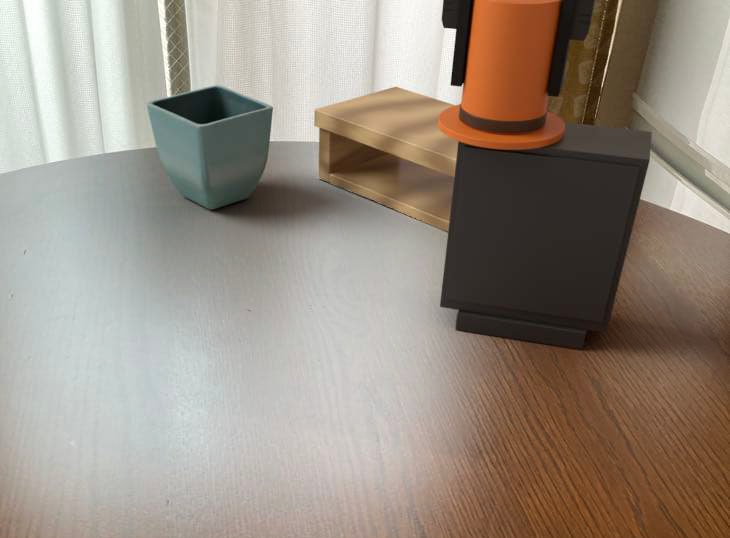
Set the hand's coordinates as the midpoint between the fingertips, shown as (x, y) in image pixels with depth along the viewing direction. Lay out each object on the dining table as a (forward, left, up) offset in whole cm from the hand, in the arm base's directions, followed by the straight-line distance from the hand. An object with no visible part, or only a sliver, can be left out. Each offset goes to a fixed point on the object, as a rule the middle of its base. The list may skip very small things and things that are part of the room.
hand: (506, 84), depth 64 cm
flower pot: (+14, -30, -18) cm, 37 cm away
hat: (0, 0, -3) cm, 3 cm away
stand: (-7, -24, -17) cm, 30 cm away
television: (-3, +2, -17) cm, 18 cm away
